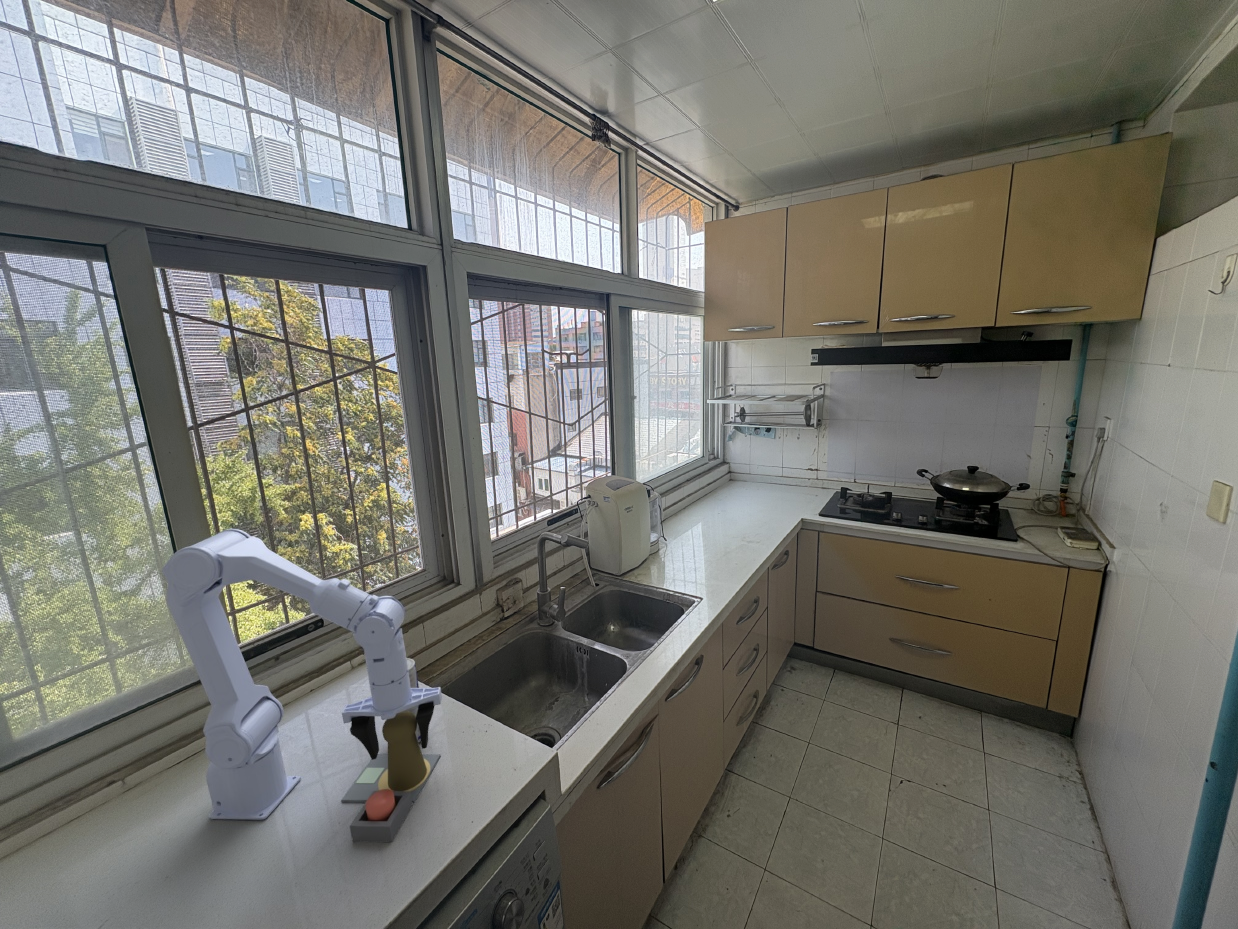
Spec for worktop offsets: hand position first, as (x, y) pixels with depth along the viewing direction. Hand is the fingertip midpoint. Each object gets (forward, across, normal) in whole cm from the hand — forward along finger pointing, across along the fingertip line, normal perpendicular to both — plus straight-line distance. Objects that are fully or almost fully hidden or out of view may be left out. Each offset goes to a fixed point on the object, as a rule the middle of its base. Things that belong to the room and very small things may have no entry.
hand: (400, 749), depth 80 cm
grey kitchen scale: (+5, -2, +1) cm, 6 cm away
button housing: (+5, -2, -8) cm, 10 cm away
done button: (+4, -2, -8) cm, 9 cm away
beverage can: (+6, -1, +10) cm, 11 cm away
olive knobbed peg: (+5, 0, 0) cm, 5 cm away
